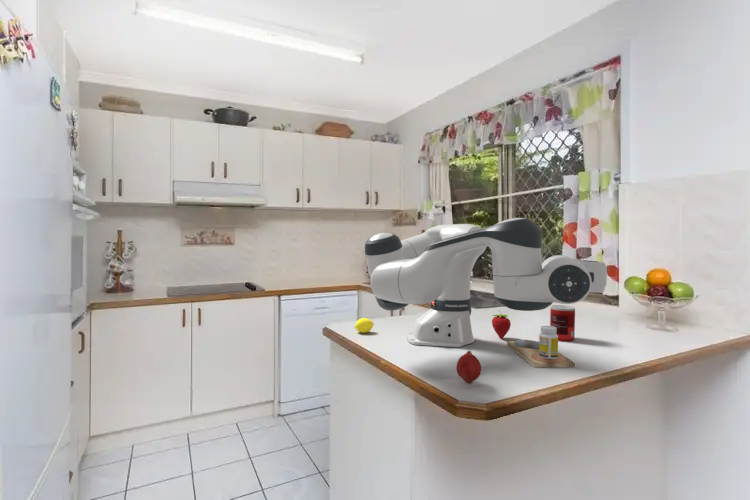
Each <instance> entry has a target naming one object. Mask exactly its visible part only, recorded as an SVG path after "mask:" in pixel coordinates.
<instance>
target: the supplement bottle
mask: <svg viewBox="0 0 750 500" xmlns="http://www.w3.org/2000/svg"><path fill="white" fill-rule="evenodd" d="M556 333H557V328H556V327H553V326H550V325H542V326H540V334H539V336H538V338H539V339H538V340H539V356H540V357H541V358H544V359H557V358H558V352H559V341H558V335H557V334H556Z"/></svg>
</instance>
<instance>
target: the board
mask: <svg viewBox="0 0 750 500" xmlns="http://www.w3.org/2000/svg"><path fill="white" fill-rule="evenodd" d="M506 342H507V343H506V345H507V346H508V347H509V348H510V349H512V350H513V351H514V352H515V353H517V354H518V356H520V357H521V358H523V360H525V361H527V363H529V364H530V365H531V366H532V367H534V368H576V362H575V361H573V360H572V359H570V358H568V357H567V356H565V355H564V354H562V353H561V352H559V351H558V358H557V359H544V358H541V357H540V356H539V341H538V340H537V341H536V340H530V339H519V340H515V341H513V340H511V341H509V340H507V341H506Z"/></svg>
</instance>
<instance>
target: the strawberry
mask: <svg viewBox="0 0 750 500" xmlns="http://www.w3.org/2000/svg"><path fill="white" fill-rule="evenodd" d="M498 310H499V312H501V311H500V309H498ZM492 316H493V317H492V319H491V325H492V328H493V330H494V332H495V333H496V335H497V336H498V338H499V339H503V338H505V336H506V335H507V334H508V332H509V331H510V329H511V326H512V325H511V324H512V323H511V320H510V319H509V318H508V317H509V315H507V314H502V313H498V314H492Z"/></svg>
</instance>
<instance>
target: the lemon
mask: <svg viewBox="0 0 750 500" xmlns="http://www.w3.org/2000/svg"><path fill="white" fill-rule="evenodd" d="M374 325H375V324H374V322H373V321H372V320H371V319H369V318H368V317H367V318H366V317H362V318H360V319H358V320H357V321H356V322H355V325H354V328H355V329H356V331H357V332H358V333H360V332H361V333H360V334H366V332H367V333H369V332H370V331H371V330H372V329H373V327H374Z"/></svg>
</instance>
